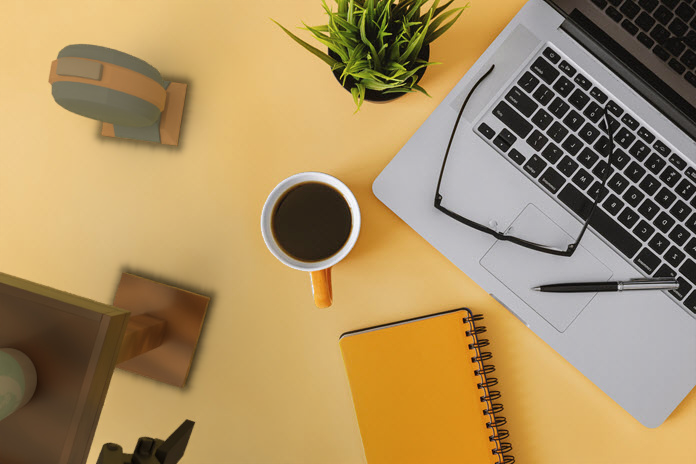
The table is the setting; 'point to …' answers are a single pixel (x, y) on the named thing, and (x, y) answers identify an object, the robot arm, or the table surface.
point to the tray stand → (159, 328)
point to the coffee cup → (15, 380)
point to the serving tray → (58, 369)
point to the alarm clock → (118, 93)
